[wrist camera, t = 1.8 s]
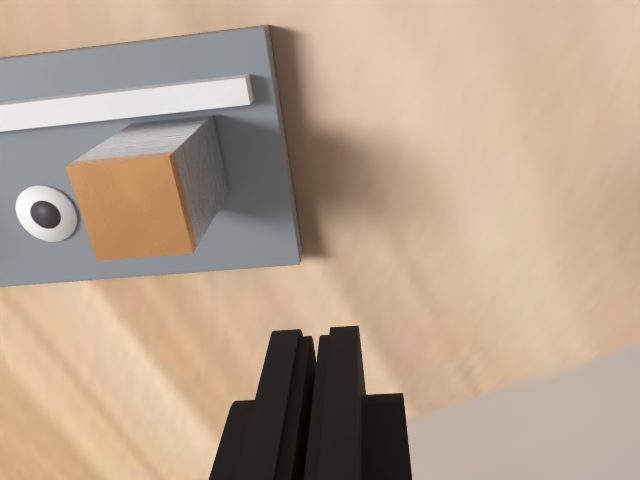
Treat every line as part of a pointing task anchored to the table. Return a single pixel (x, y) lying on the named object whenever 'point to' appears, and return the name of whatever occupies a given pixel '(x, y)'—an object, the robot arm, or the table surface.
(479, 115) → the table surface
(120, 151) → the block
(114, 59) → the divider plate
